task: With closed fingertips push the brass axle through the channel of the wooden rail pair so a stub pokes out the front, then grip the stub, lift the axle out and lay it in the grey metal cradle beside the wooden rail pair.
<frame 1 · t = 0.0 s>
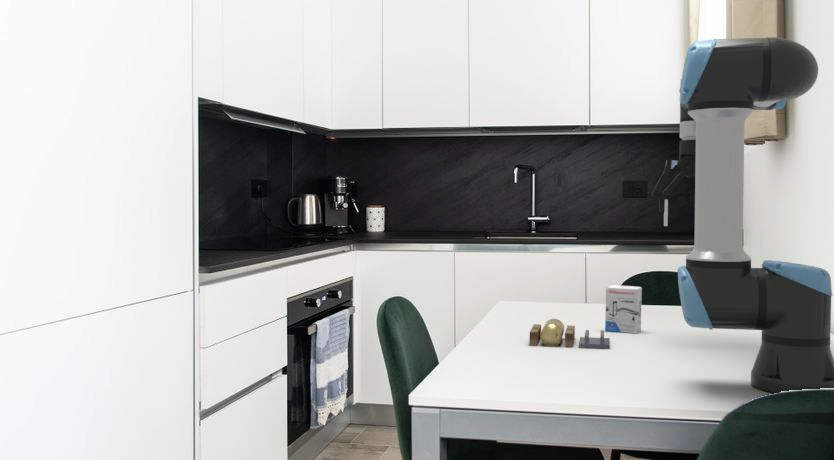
hand: (694, 226, 204), 28 cm above the table, fingers open, 13 cm apart
wooden rail pair: (552, 341, 202), on the table
cradle: (594, 345, 198), on the table
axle: (552, 332, 202), point 2 cm above the table
ink box: (623, 331, 218), on the table
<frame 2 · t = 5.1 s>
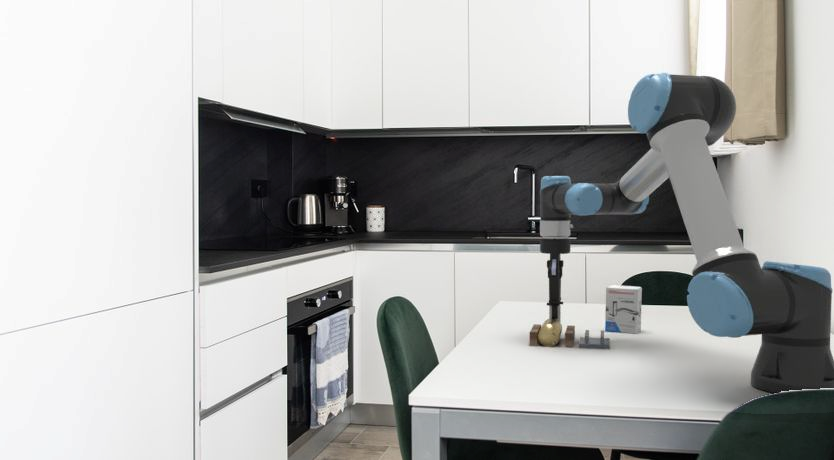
hand: (554, 330, 209), 2 cm above the table, fingers closed
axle: (550, 332, 202), point 2 cm above the table, tilted 12°, touching gripper
everything else where it was.
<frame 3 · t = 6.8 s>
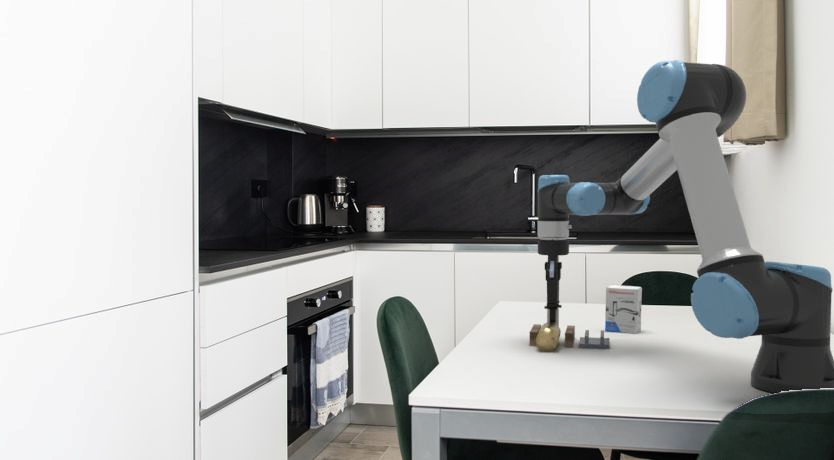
hand: (552, 334, 203), 2 cm above the table, fingers closed
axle: (548, 336, 195), point 3 cm above the table, tilted 12°, touching gripper
everything else where it was.
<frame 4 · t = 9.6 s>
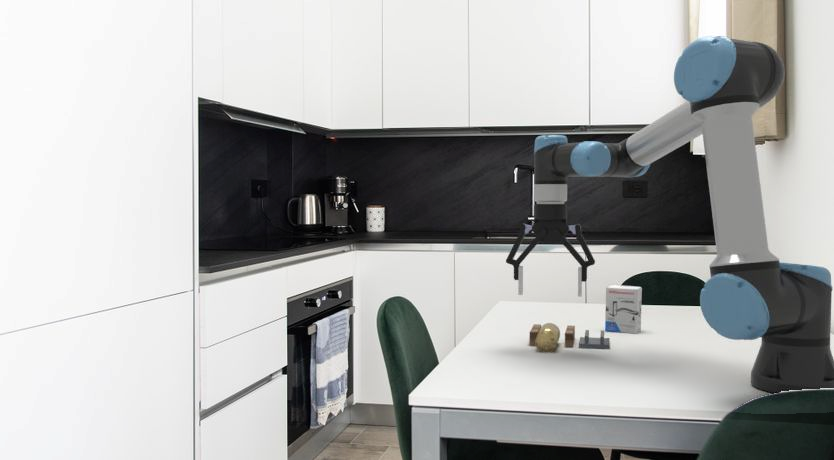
hand: (550, 295, 192), 13 cm above the table, fingers open, 13 cm apart
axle: (548, 337, 195), point 2 cm above the table, tilted 14°
everything else where it was.
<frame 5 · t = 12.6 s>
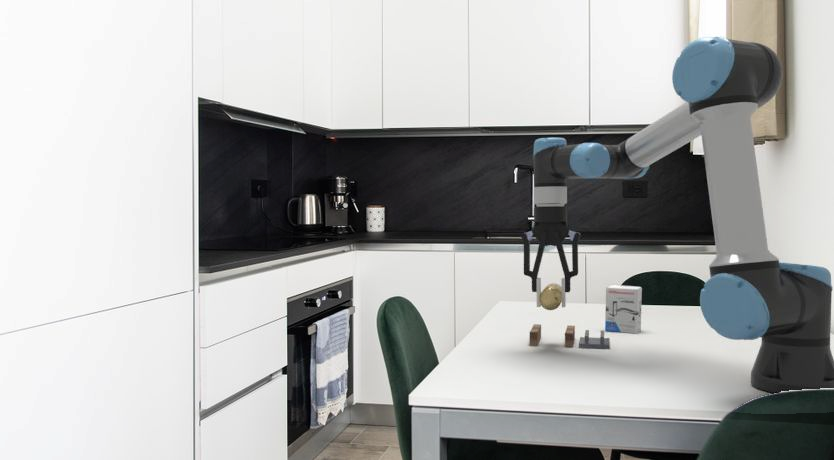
hand: (551, 306, 192), 10 cm above the table, fingers closed on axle, 5 cm apart
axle: (552, 296, 194), point 12 cm above the table, touching gripper
everything else where it was.
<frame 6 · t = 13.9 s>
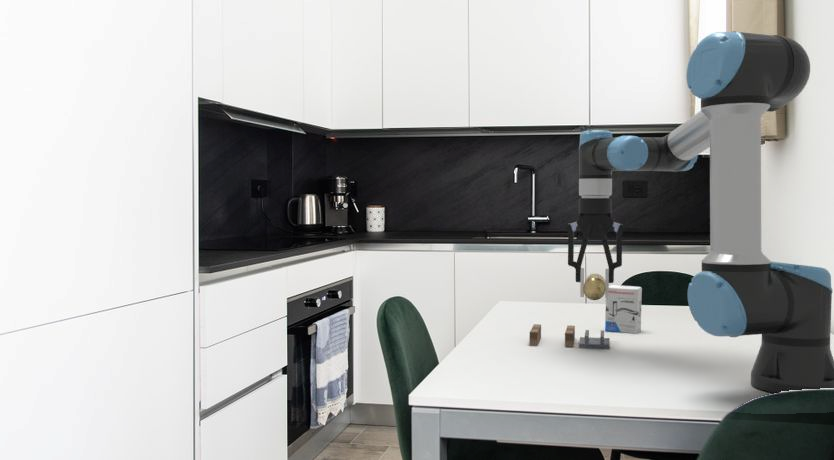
hand: (594, 296, 194), 12 cm above the table, fingers closed on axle, 5 cm apart
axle: (594, 286, 197), point 14 cm above the table, touching gripper
everything else where it was.
when the fingers open (3 cm above the table, at t = 15.7 s): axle stays where it is, resting on cradle.
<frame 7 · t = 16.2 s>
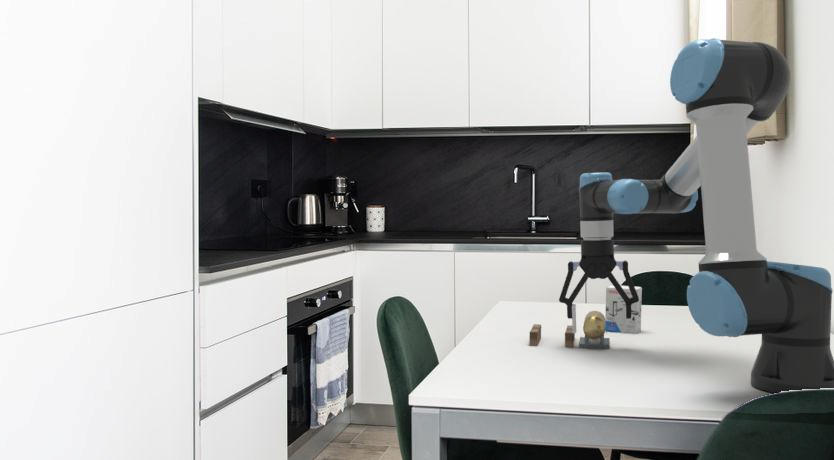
hand: (599, 332, 195), 4 cm above the table, fingers open, 11 cm apart
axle: (594, 324, 198), point 5 cm above the table, touching cradle
everything else where it was.
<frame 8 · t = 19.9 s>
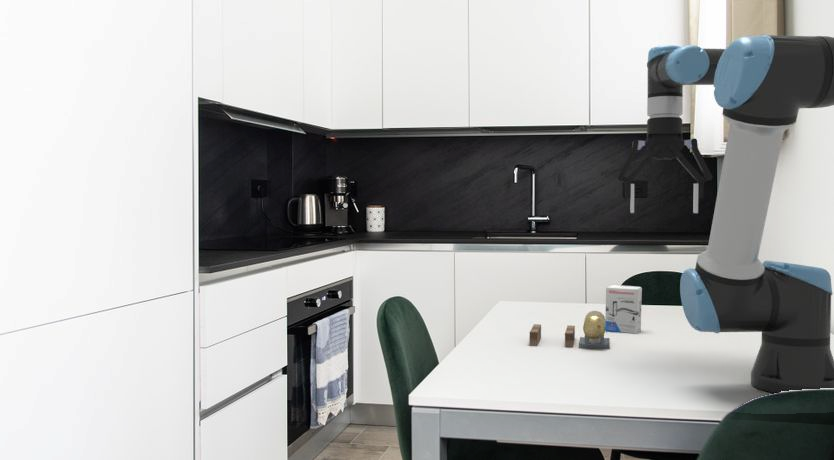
hand: (663, 213, 185), 32 cm above the table, fingers open, 13 cm apart
nothing on the table moved.
at the end: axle 0.0 cm off-centre on the cradle, point 4.9 cm above the cradle's base; the gripper is holding nothing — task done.
